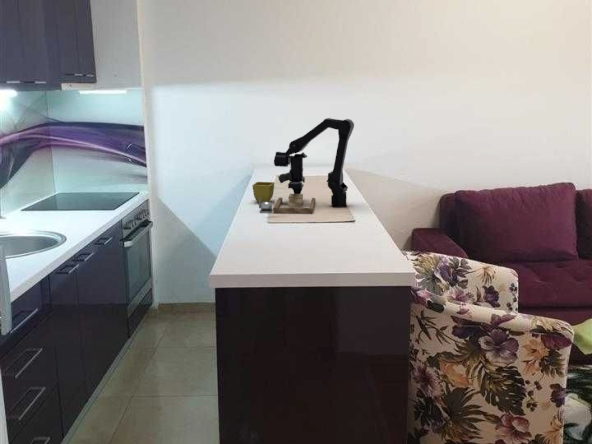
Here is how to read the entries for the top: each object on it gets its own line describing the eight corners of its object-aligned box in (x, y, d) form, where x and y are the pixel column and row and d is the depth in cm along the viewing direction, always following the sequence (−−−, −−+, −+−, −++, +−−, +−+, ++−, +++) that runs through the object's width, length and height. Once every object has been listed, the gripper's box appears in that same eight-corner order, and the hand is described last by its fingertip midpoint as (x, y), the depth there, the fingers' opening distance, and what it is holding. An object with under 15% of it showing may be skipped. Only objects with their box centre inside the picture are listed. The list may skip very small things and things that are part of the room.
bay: (315, 203, 293) (315, 198, 293) (312, 213, 271) (312, 208, 270) (279, 202, 295) (279, 197, 294) (273, 213, 272) (273, 207, 272)
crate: (303, 204, 291) (303, 193, 289) (302, 207, 285) (302, 196, 283) (289, 204, 291) (289, 193, 290) (288, 206, 285) (288, 196, 284)
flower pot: (270, 204, 291) (270, 185, 289) (252, 203, 293) (252, 184, 291) (274, 200, 300) (274, 182, 298) (257, 200, 301) (256, 181, 299)
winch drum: (272, 210, 278) (272, 197, 276) (271, 212, 273) (271, 199, 272) (260, 210, 278) (259, 197, 277) (258, 212, 274) (258, 199, 272)
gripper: (281, 164, 298) (282, 196, 302) (276, 170, 280) (277, 204, 284) (304, 164, 297) (305, 196, 301) (301, 170, 279) (301, 204, 283)
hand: (296, 200), depth 292 cm, fingers closed
